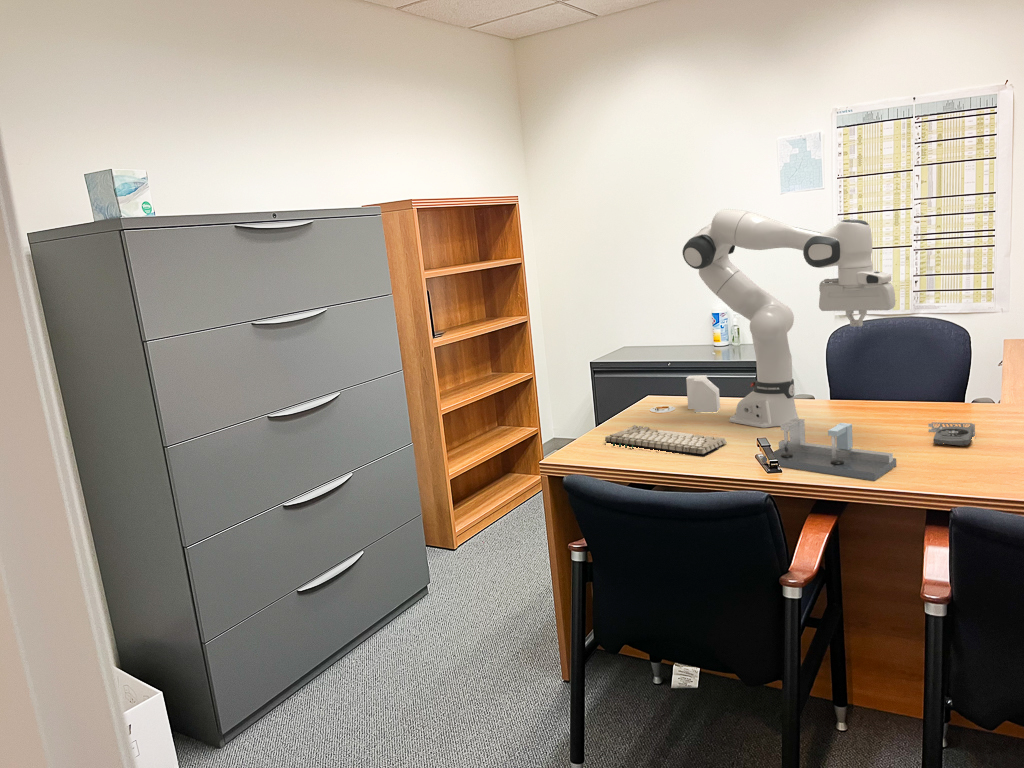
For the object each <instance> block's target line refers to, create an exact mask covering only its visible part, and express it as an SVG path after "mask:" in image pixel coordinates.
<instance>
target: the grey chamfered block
mask: <svg viewBox="0 0 1024 768" xmlns="http://www.w3.org/2000/svg"><path fill="white" fill-rule="evenodd" d="M685 379H686V393H687V394H686V395H687V396H686V397H687V410H688V409H695V410H694V413H695V412H717V411H718V410H719V411H720V409H721V403H720V400H721V399H720V388H719V387H717V385H715V384H714V383H713V382H712V381H710V380H709V378H708V375H707V374H705V375H704V374H703V375H702V374H701V375H699V374H698V375H688V376H687V377H686V378H685ZM719 408H720V409H719ZM719 411H718V412H719ZM718 412H717V413H718Z"/></svg>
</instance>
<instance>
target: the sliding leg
mask: <svg viewBox="0 0 1024 768" xmlns="http://www.w3.org/2000/svg"><path fill="white" fill-rule="evenodd" d="M827 435H828V436H829V437H831V439H830V441H831V446H832V458H833V459H835V458H836V447H837V449H844V450H849V449H850V448H853V446H854V445H853V423H845V422H839V423H837V424H836V425H835V426H833V427H832V428H830V429H828V430H827Z"/></svg>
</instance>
